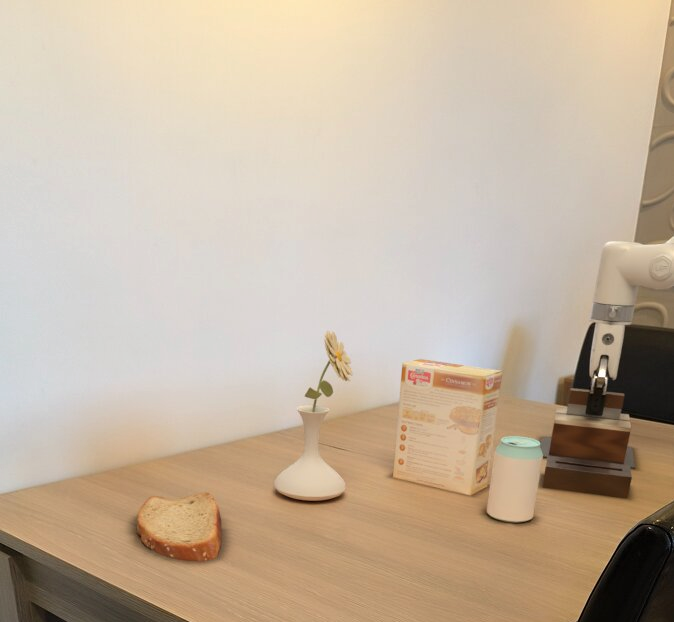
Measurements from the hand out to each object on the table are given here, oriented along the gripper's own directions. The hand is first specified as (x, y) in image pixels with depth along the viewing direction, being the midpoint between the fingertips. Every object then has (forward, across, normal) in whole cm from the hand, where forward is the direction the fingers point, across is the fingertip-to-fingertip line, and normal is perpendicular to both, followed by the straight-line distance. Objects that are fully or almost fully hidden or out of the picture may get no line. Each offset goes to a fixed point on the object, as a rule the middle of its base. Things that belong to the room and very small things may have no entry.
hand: (593, 410), depth 160 cm
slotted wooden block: (+9, -24, 0) cm, 26 cm away
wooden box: (+9, 0, 0) cm, 9 cm away
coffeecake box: (+9, -32, +24) cm, 41 cm away
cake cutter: (+8, 0, 0) cm, 8 cm away
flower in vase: (+9, -47, +42) cm, 64 cm away
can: (+9, -45, +11) cm, 47 cm away
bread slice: (+9, -70, +53) cm, 88 cm away
